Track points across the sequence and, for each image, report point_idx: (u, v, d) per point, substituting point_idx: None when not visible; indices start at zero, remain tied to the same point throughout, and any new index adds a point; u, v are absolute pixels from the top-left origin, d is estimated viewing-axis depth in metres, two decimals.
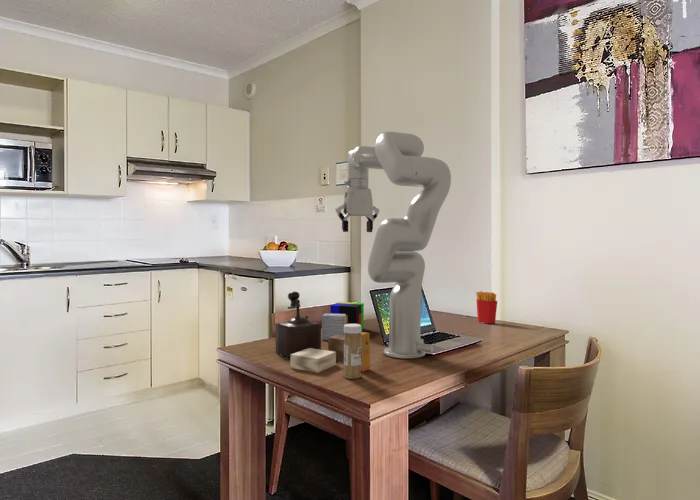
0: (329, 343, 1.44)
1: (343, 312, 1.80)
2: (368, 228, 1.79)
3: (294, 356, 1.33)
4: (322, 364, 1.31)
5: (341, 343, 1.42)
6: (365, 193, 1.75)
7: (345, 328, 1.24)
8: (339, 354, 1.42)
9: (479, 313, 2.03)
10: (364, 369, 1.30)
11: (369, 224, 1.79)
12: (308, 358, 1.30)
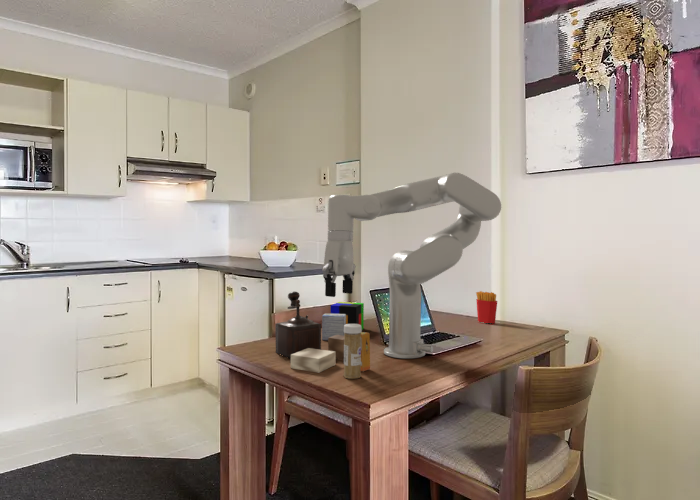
0: (329, 343, 1.44)
1: (343, 312, 1.80)
2: None
3: (294, 356, 1.32)
4: (323, 364, 1.31)
5: (341, 343, 1.42)
6: None
7: (345, 328, 1.24)
8: (339, 354, 1.42)
9: (479, 313, 2.03)
10: (364, 369, 1.30)
11: None
12: (309, 358, 1.30)
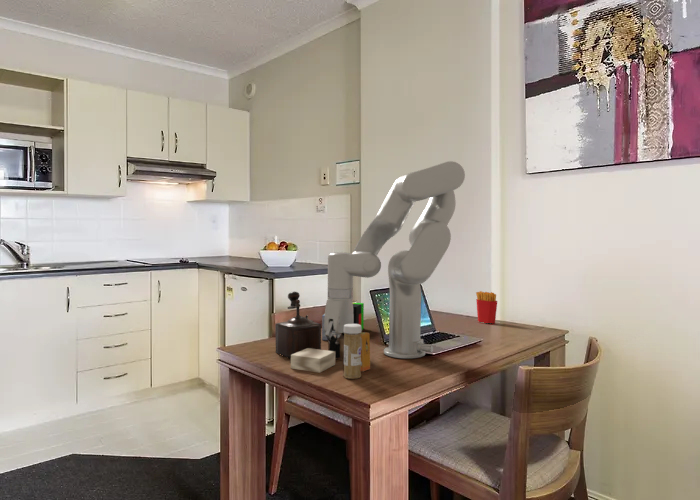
0: None
1: None
2: None
3: (294, 356, 1.32)
4: (323, 364, 1.31)
5: (341, 343, 1.42)
6: None
7: (345, 328, 1.24)
8: None
9: (479, 313, 2.03)
10: (364, 369, 1.30)
11: None
12: (309, 358, 1.30)
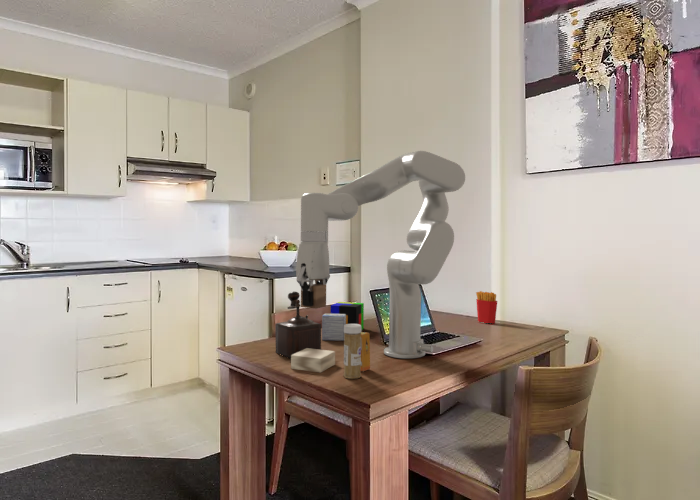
0: (302, 291, 1.33)
1: (343, 312, 1.80)
2: None
3: (295, 357, 1.32)
4: (324, 364, 1.31)
5: (314, 290, 1.31)
6: None
7: (345, 328, 1.24)
8: None
9: (479, 313, 2.03)
10: (364, 369, 1.30)
11: None
12: (310, 358, 1.30)
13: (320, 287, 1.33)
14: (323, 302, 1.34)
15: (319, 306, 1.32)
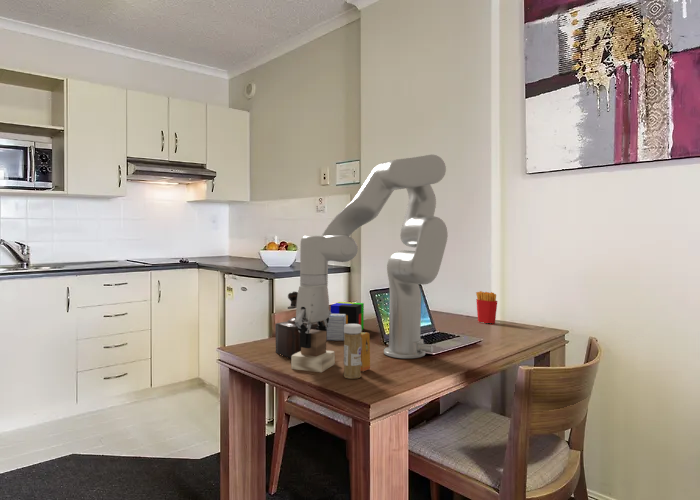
0: None
1: (343, 312, 1.80)
2: None
3: (295, 357, 1.32)
4: (324, 364, 1.31)
5: (314, 338, 1.32)
6: None
7: (345, 328, 1.24)
8: (312, 349, 1.32)
9: (479, 313, 2.03)
10: (364, 369, 1.30)
11: None
12: (311, 358, 1.30)
13: (320, 334, 1.33)
14: (323, 349, 1.35)
15: (319, 353, 1.33)
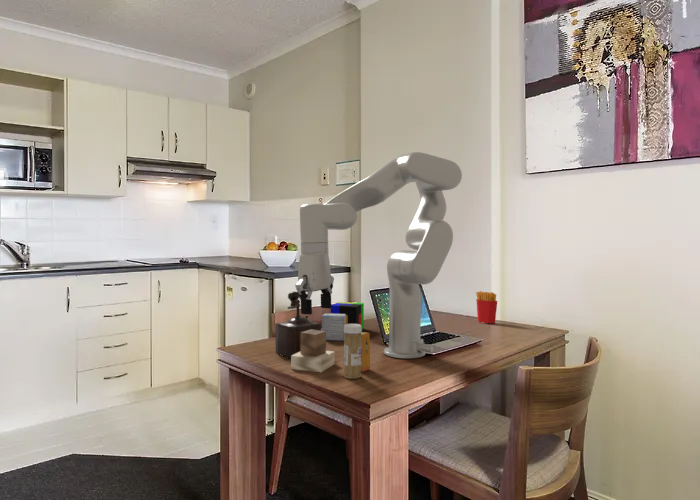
0: (301, 338, 1.33)
1: (343, 312, 1.80)
2: None
3: (295, 357, 1.32)
4: (324, 364, 1.31)
5: (314, 338, 1.31)
6: None
7: (345, 328, 1.24)
8: (312, 350, 1.32)
9: (479, 313, 2.03)
10: (364, 369, 1.30)
11: None
12: (310, 359, 1.30)
13: (319, 335, 1.33)
14: (323, 349, 1.34)
15: (319, 354, 1.33)
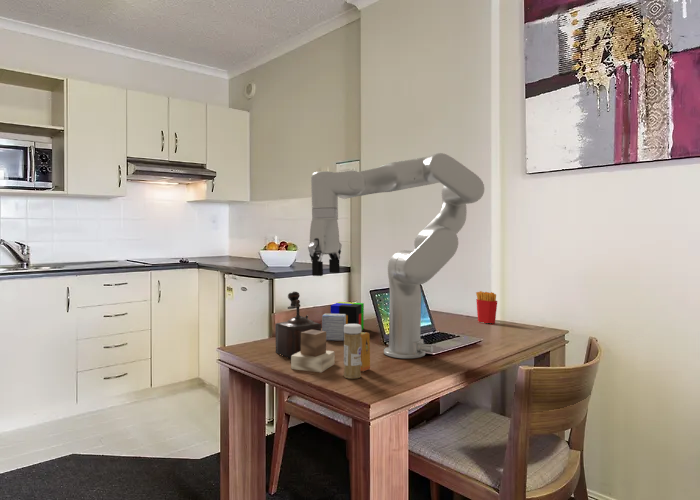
0: (301, 338, 1.33)
1: (343, 312, 1.80)
2: None
3: (295, 357, 1.32)
4: (324, 364, 1.31)
5: (314, 338, 1.31)
6: None
7: (345, 328, 1.24)
8: (312, 350, 1.32)
9: (479, 313, 2.03)
10: (364, 369, 1.30)
11: None
12: (310, 358, 1.30)
13: (320, 335, 1.33)
14: (323, 350, 1.34)
15: (319, 354, 1.33)
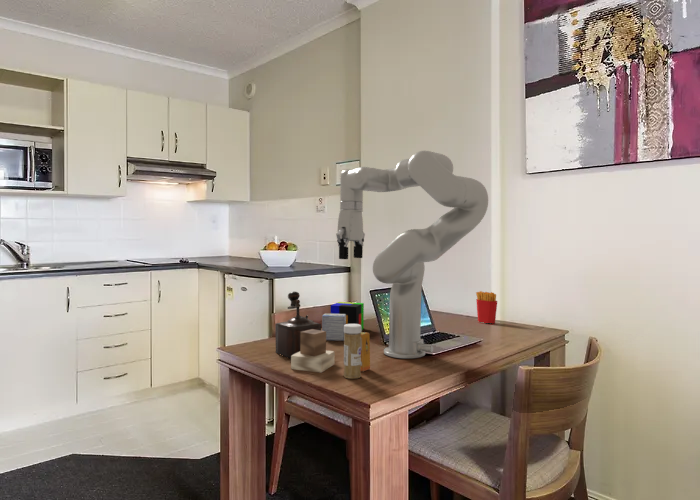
0: (301, 338, 1.34)
1: (343, 312, 1.80)
2: None
3: (295, 357, 1.32)
4: (324, 364, 1.31)
5: (313, 338, 1.32)
6: None
7: (345, 328, 1.24)
8: (311, 349, 1.32)
9: (479, 313, 2.03)
10: (364, 369, 1.30)
11: None
12: (310, 358, 1.30)
13: (319, 334, 1.33)
14: (322, 349, 1.34)
15: (318, 353, 1.33)
